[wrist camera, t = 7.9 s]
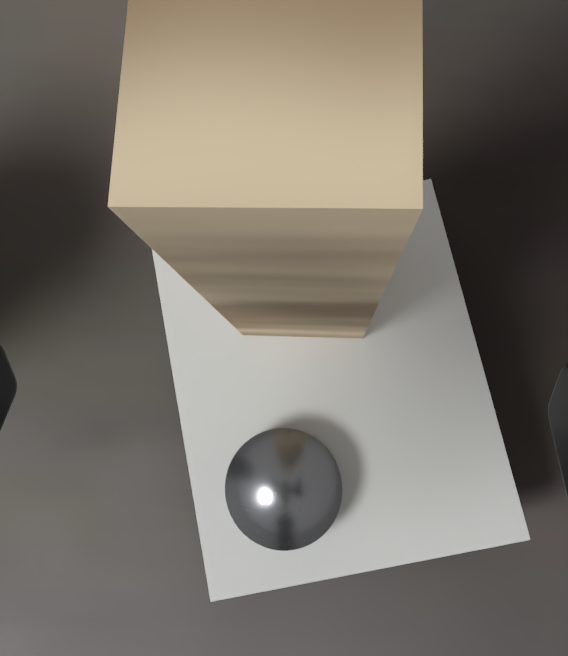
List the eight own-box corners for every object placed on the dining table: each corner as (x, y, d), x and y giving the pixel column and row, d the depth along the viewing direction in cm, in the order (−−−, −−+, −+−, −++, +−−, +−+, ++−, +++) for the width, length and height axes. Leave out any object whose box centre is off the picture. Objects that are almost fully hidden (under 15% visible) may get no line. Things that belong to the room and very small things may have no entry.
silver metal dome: (353, 531, 16) (354, 538, 15) (240, 554, 16) (236, 561, 16) (328, 417, 17) (327, 417, 16) (220, 439, 17) (215, 441, 16)
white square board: (502, 522, 18) (530, 539, 16) (226, 576, 19) (210, 602, 16) (417, 208, 20) (431, 178, 18) (172, 263, 21) (150, 242, 18)
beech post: (362, 338, 17) (422, 208, 6) (243, 335, 18) (107, 206, 7) (364, 223, 18) (422, -73, 7) (249, 222, 18) (135, -61, 7)
